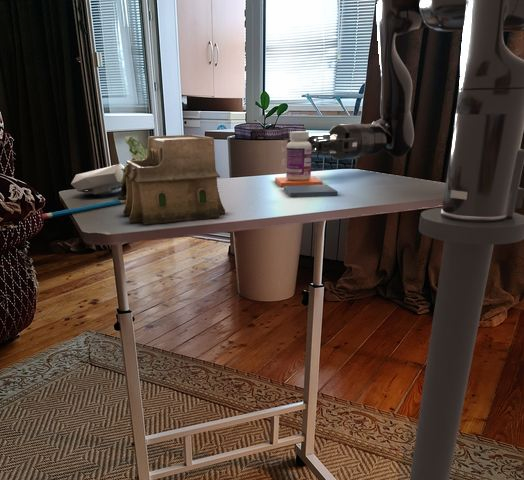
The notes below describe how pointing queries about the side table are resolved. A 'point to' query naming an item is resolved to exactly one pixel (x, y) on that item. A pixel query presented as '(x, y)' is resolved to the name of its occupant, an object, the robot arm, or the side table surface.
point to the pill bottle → (298, 157)
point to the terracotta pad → (298, 182)
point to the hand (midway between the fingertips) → (302, 145)
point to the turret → (99, 180)
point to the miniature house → (173, 181)
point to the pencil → (81, 209)
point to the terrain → (136, 148)
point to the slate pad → (310, 190)
